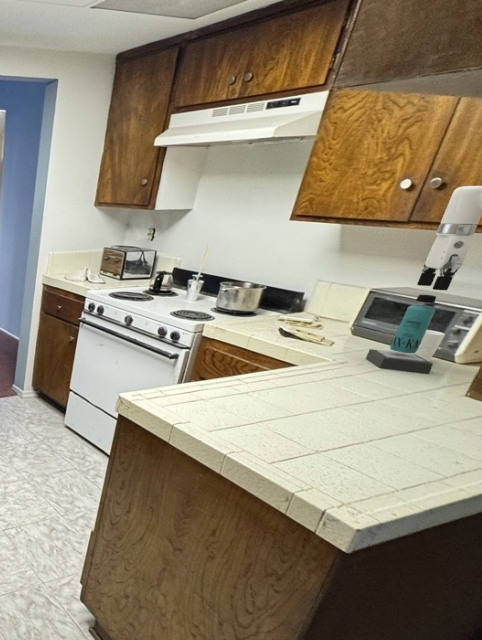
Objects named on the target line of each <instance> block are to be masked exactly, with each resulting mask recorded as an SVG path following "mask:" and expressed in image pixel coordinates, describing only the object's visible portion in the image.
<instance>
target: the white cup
mask: <svg viewBox="0 0 482 640" xmlns="http://www.w3.org/2000/svg"><path fill="white" fill-rule="evenodd" d="M445 336H446V334H445V333H444V332H441V331H438V330H437V331H436V330H431V329H427V330H426V332H425V334H424V337H423V340H422V341H421V344H420V345H419V347H418V351H416V352H415V353H411V354H416V355H418V356H420V357H421V358H423V359H425V360H427V361H429V362H431V360H432V358H433V356H434V355H435V353H436V352H437V350H438V348H439V346H440V345H441V343H442V341H443V339H444V338H445Z"/></svg>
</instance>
